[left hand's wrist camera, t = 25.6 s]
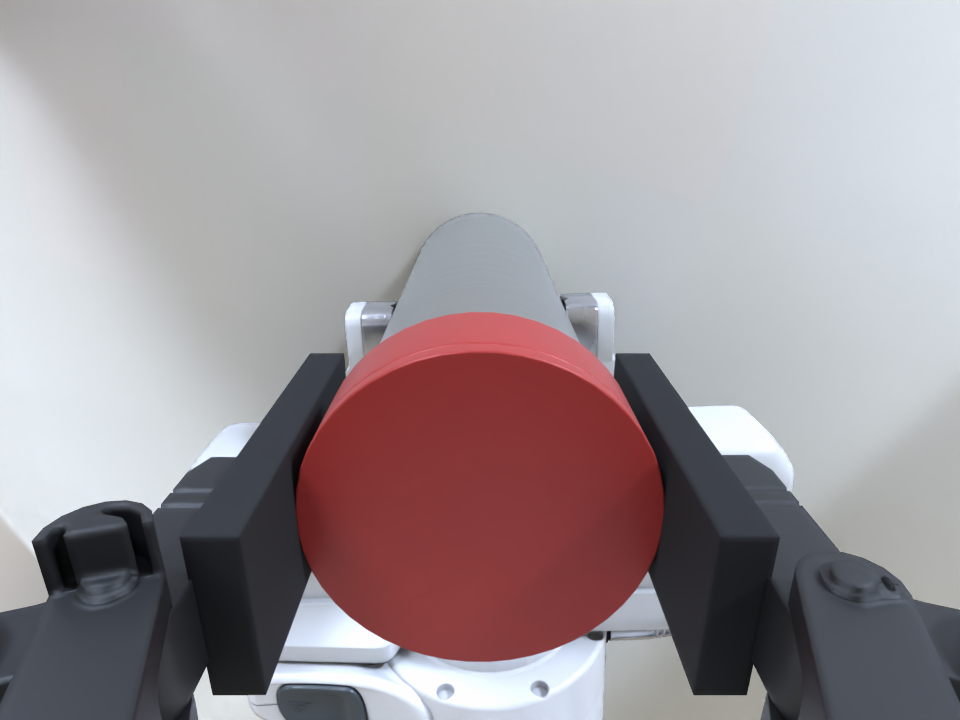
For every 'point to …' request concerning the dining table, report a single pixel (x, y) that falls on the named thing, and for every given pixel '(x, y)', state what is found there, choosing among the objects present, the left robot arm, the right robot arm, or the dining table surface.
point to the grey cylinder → (479, 276)
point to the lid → (479, 490)
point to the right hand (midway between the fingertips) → (477, 301)
